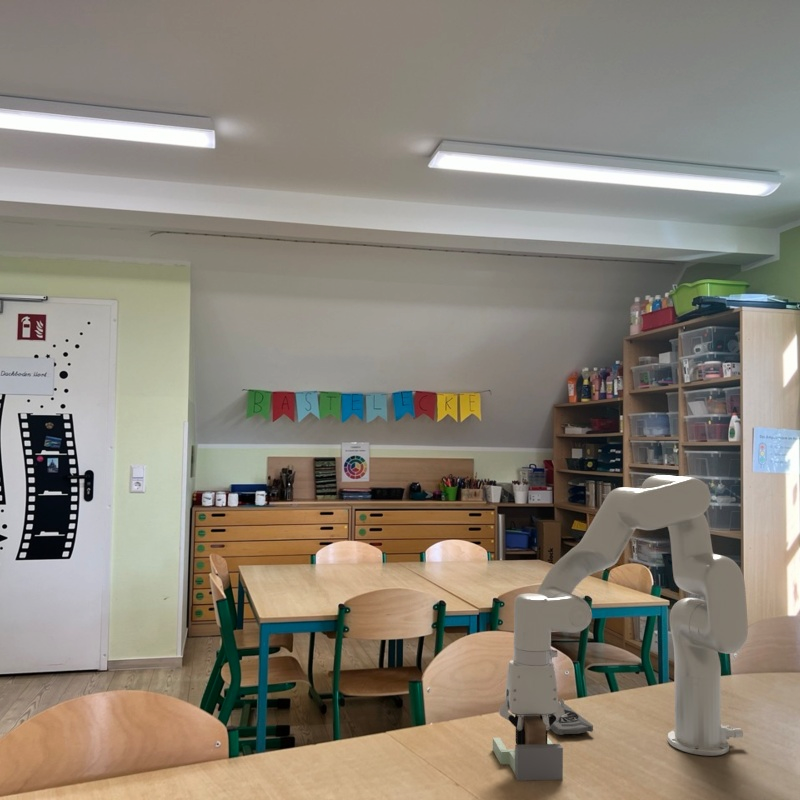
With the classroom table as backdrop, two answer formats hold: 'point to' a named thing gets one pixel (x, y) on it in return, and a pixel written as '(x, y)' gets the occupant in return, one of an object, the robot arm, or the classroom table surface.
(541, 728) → the brown wooden block
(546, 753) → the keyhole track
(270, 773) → the classroom table surface
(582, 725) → the graphics card
